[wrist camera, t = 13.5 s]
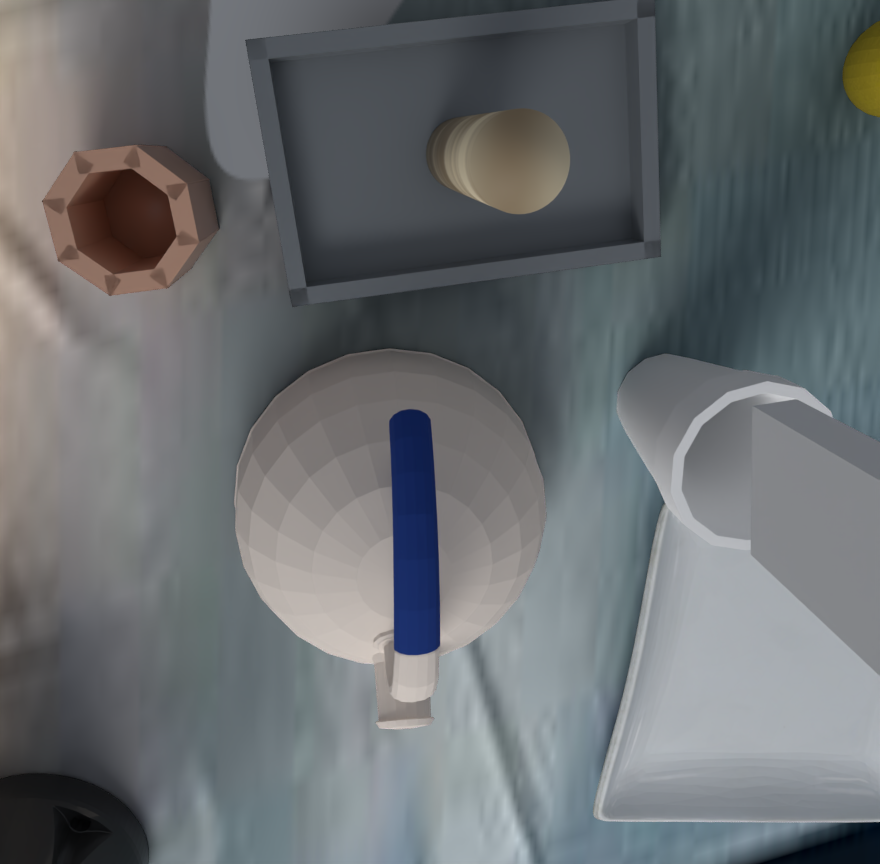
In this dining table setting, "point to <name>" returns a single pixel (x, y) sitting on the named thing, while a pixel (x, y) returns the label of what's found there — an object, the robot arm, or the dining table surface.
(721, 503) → the foam cup
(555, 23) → the tray
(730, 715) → the square plate
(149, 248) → the pink octagonal cup
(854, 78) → the lemon
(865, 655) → the robot arm
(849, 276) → the dining table surface
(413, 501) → the kettle
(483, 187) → the peg
